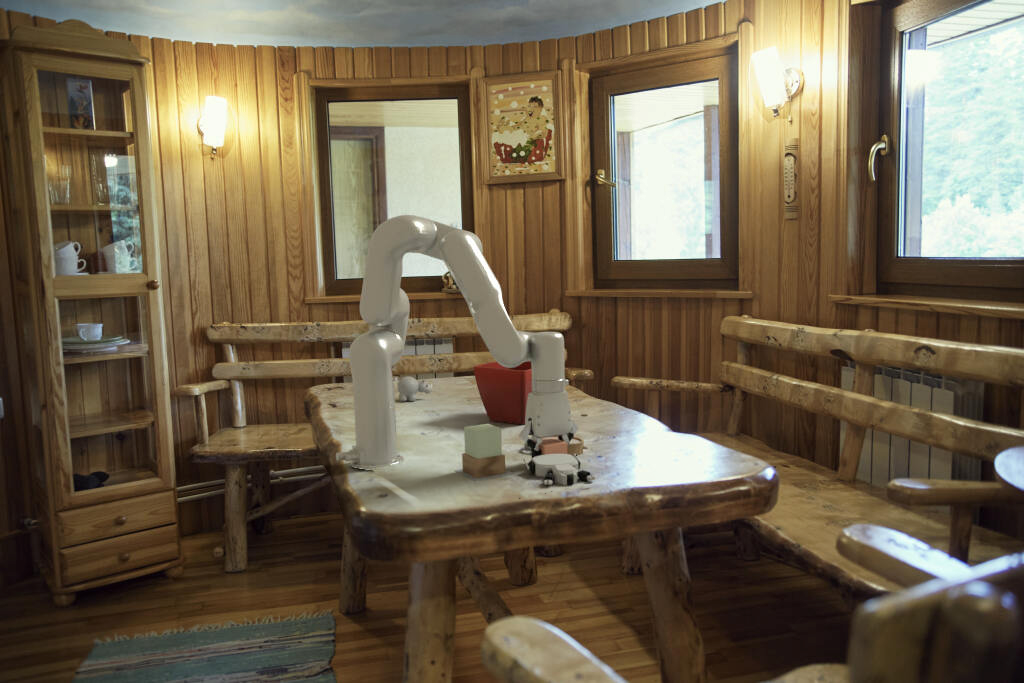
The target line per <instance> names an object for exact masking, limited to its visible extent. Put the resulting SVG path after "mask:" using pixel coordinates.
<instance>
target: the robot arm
mask: <svg viewBox="0 0 1024 683" xmlns="http://www.w3.org/2000/svg"><path fill="white" fill-rule="evenodd" d="M483 251H484V249H483V243H482V242H481V239H480V238H479V236H478V235H476V234H475V233H473V232H472V231H467V230H465V229H460V228H459V227H458V228H457V227H454V226H451V225H448V224H445V223H441V222H439V221H436V220H432V219H431V218H425V217H421V216H417V215H413V214H402V215H397V216H393V217H391V218H389V219H387V220H385V221H383V222H381V223H380V224H379V225H378V226H377V228H376V229H374V232H372V234H371V236H370V240H369V244H368V246H367V254H366V261H365V268H364V274H363V281H362V289H361V294H360V301H359V314H360V316H361V319H362V320H363V321H364V322H365V323H366V324H368V325H369V327H368V331H366V332H363V333H362V334H360V335H358V336H357V337H356V338H354V340H353V341H352V343H351V345H350V347H349V351H348V362H349V367H350V368H349V369H350V373H351V379H352V388H353V390H352V391H353V392H352V393H353V408H354V424H355V425H354V426H355V427H354V429H355V445H352V447H351V448H352V449H348V451H340V452H336V453H335V459H336V461H337V462H339V461H345V462H350V463H349V466H350V465H351V466H353V467H356V468H363V469H371V468H382V467H390V466H393V465H397V464H400V463H401V462H404V461H405V458H404V457H403V455H400V454H398V444H397V423H396V422H397V420H396V417H397V415H396V398H395V396H396V395H395V394H396V392H395V383H394V378H393V371H392V366H394V365H396V363H398V362H399V361H400V359H401V358H402V357H403V354H404V350H405V346H406V338H407V332H408V325H409V318H410V311H411V309H410V306H411V305H410V301H409V297H408V295H407V293H406V292H405V290H404V289H402V287H401V283H402V282H401V281H402V276H403V259H404V256H405V255H406V254H410V253H411V254H421V255H425V256H428V257H431V258H434V259H437V260H440V261H442V262H444V265H445V266H446V268H447V270H448V272H449V274H450V275H451V277H452V279H453V280H454V282H455V284H456V286H457V288H458V289H459V291H460V292H461V295H462V297H463V298H464V300H465V302H466V303H467V306H468V309H469V313H470V314H471V316H472V319H473V321H474V323H475V326H476V329H477V331H478V333H479V335H480V336H481V337H480V338H482V340H483V342H484V344H485V345H486V347H487V349H488V351H489V352H490V354H491V356H492V357H493V359H494V360H495V362H496V361H497V362H498V363H499V364H500V365H502V366H504V367H507V368H513V367H517V366H519V365H520V364H522V363H523V362H527V361H531V370H532V393H529V394H528V399H527V405H526V417H525V424H524V427H523V428H522V430H521V431H520V433H519V434H518V437H519V438H520V439H521V440H522V441H523V442H524V444H525V443H526V444H527V445H528V446H529V448H531V450H530V451H531V452H532V453H531V459H532V458H534V457H535V456H540V455H542V450H540V446H541V443H542V440H543V438H545V437H552V436H557V438H558V440H561V441H564V442H566V443H567V446H569V444H570V441H571V439H572V438H573V437H575V434H576V433H577V432H578V431H579V426H578V424H576V423H575V422H574V421H573V420H572V414H571V413H572V412H571V404H570V399H569V394H568V391H567V390H566V386H569V384H570V383H569V382H570V380H568V379H567V378H566V376H565V374H566V373H565V368H566V367H565V366H566V365H565V339H564V338H565V337H564V335H563V334H562V333H560V332H558V331H541V332H539V331H538V332H532V331H523V330H517V329H516V328H515V326H514V324H513V322H512V321H511V318H510V317H509V315H508V312H507V310H506V307H505V305H504V300H503V292H502V287H501V284H500V282H499V280H498V279H497V277H496V275H495V274H494V272H493V270H492V268H491V266H490V265H489V263H488V261H487V259H486V258H485V256H484V255H483ZM529 436H531V437H532V438H531V437H529ZM567 454H568V448H567ZM351 466H350V467H351Z"/></svg>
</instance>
